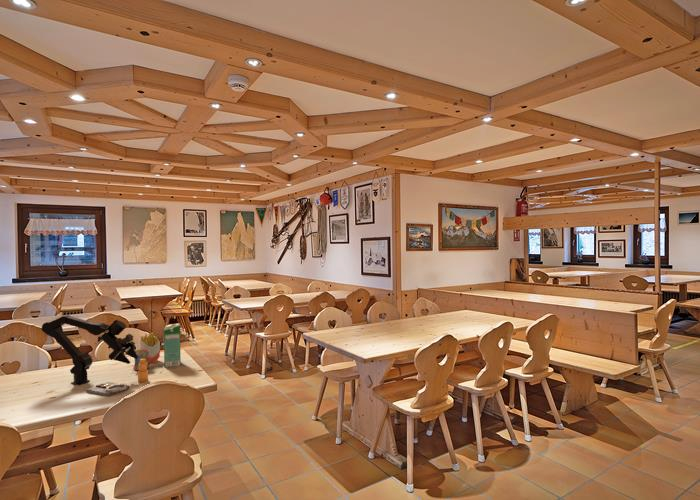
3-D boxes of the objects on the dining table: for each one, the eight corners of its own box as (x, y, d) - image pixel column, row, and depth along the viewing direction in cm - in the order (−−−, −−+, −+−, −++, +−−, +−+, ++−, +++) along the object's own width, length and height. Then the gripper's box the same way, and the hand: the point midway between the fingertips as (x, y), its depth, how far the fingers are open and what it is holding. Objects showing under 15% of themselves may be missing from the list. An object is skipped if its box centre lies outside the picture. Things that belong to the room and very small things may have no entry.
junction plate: (86, 392, 209) (86, 387, 209) (107, 384, 220) (107, 379, 220) (112, 397, 202) (112, 392, 202) (133, 389, 214) (133, 384, 214)
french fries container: (160, 360, 265) (159, 332, 265) (145, 365, 255) (145, 336, 255) (155, 359, 267) (154, 332, 267) (140, 364, 257) (140, 335, 257)
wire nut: (135, 381, 224) (135, 360, 224) (143, 379, 229) (143, 357, 229) (142, 383, 223) (142, 361, 222) (150, 380, 227) (149, 358, 227)
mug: (128, 370, 245) (128, 352, 245) (141, 365, 254) (140, 348, 253) (144, 372, 241) (144, 354, 241) (156, 367, 250) (156, 350, 250)
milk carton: (164, 363, 258) (163, 324, 257) (179, 361, 262) (179, 322, 261) (164, 367, 250) (163, 326, 249) (180, 365, 254) (180, 325, 253)
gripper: (114, 334, 215) (136, 354, 216) (131, 327, 234) (151, 345, 235) (99, 349, 215) (121, 370, 216) (117, 341, 234) (137, 359, 235)
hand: (133, 360), depth 225 cm, fingers open, 9 cm apart
